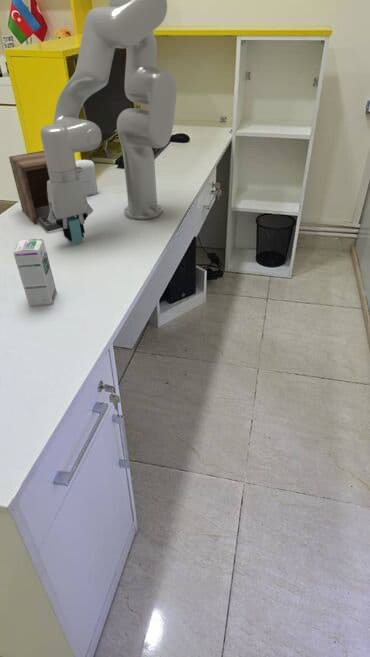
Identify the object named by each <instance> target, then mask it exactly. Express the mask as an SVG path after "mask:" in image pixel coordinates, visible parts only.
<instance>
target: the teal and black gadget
mask: <svg viewBox="0 0 370 657" xmlns="http://www.w3.org/2000/svg"><path fill="white" fill-rule="evenodd" d="M48 216H49V214H47V215H43V216H39V217H38V222H39V224H40V225H41V226H42V228H43V229H45V231H46V232H53V231H56V230H61V229H63V228H62V227H61V226H60V225H58V224H56V223H47V222H49V221H48V220H47V219H48ZM67 225H68V227H69V228H70V233H71V238H72V240H71V241H69V243H71V244H72V245H77V244H81V243H83V242H84V240H83V238H82V233H81V228H80V222H79V219H78V218H77V217H76V216H72V217H68V218H67Z"/></svg>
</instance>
